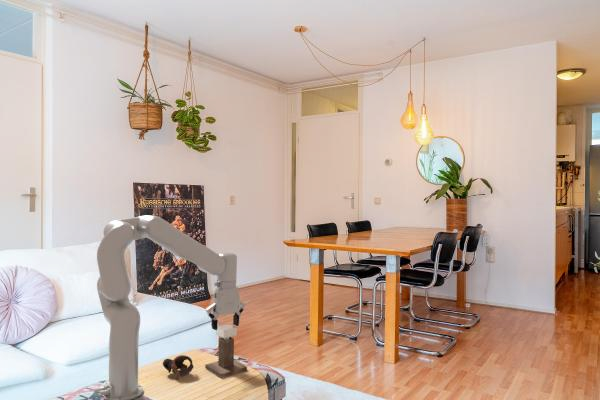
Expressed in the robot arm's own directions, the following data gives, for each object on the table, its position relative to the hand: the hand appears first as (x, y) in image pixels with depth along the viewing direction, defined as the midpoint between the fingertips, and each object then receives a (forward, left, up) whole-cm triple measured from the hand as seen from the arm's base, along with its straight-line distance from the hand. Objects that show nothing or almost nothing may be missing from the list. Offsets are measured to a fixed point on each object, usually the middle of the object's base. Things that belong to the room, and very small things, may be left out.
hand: (225, 327), depth 175 cm
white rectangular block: (0, 0, -15) cm, 15 cm away
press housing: (0, 0, -17) cm, 17 cm away
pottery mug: (-17, +7, -17) cm, 25 cm away
